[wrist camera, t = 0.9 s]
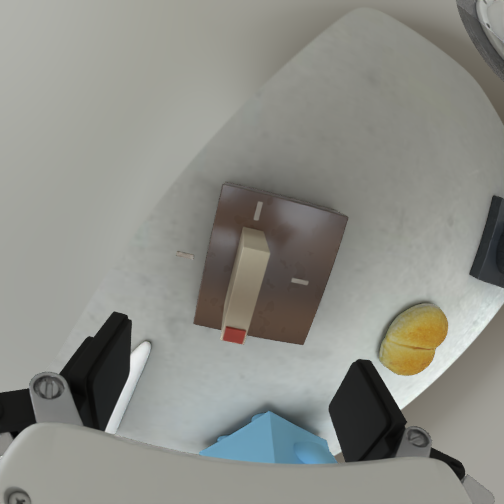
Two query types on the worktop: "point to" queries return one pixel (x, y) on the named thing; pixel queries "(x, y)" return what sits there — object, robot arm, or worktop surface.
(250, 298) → the handle
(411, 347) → the bread roll
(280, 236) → the panel
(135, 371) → the long cone
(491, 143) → the worktop surface
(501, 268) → the button block
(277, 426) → the teapot
